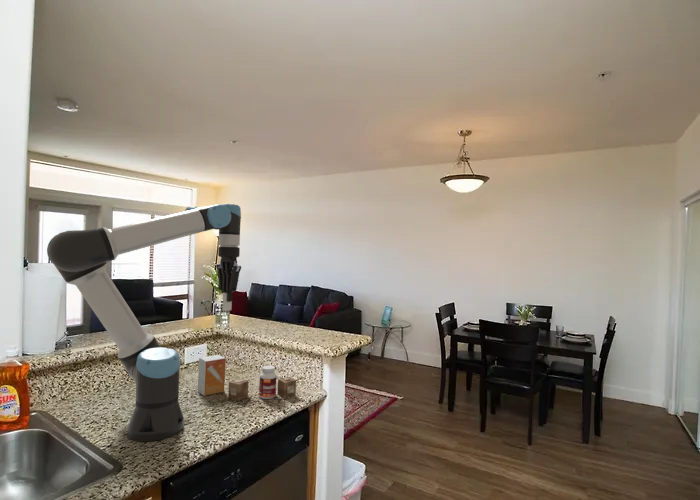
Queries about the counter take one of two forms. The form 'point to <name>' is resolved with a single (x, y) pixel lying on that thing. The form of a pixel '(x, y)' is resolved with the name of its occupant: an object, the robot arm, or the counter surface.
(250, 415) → the counter surface
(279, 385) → the marked block right
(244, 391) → the marked block left
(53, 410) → the counter surface
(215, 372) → the small box
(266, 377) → the pill bottle
